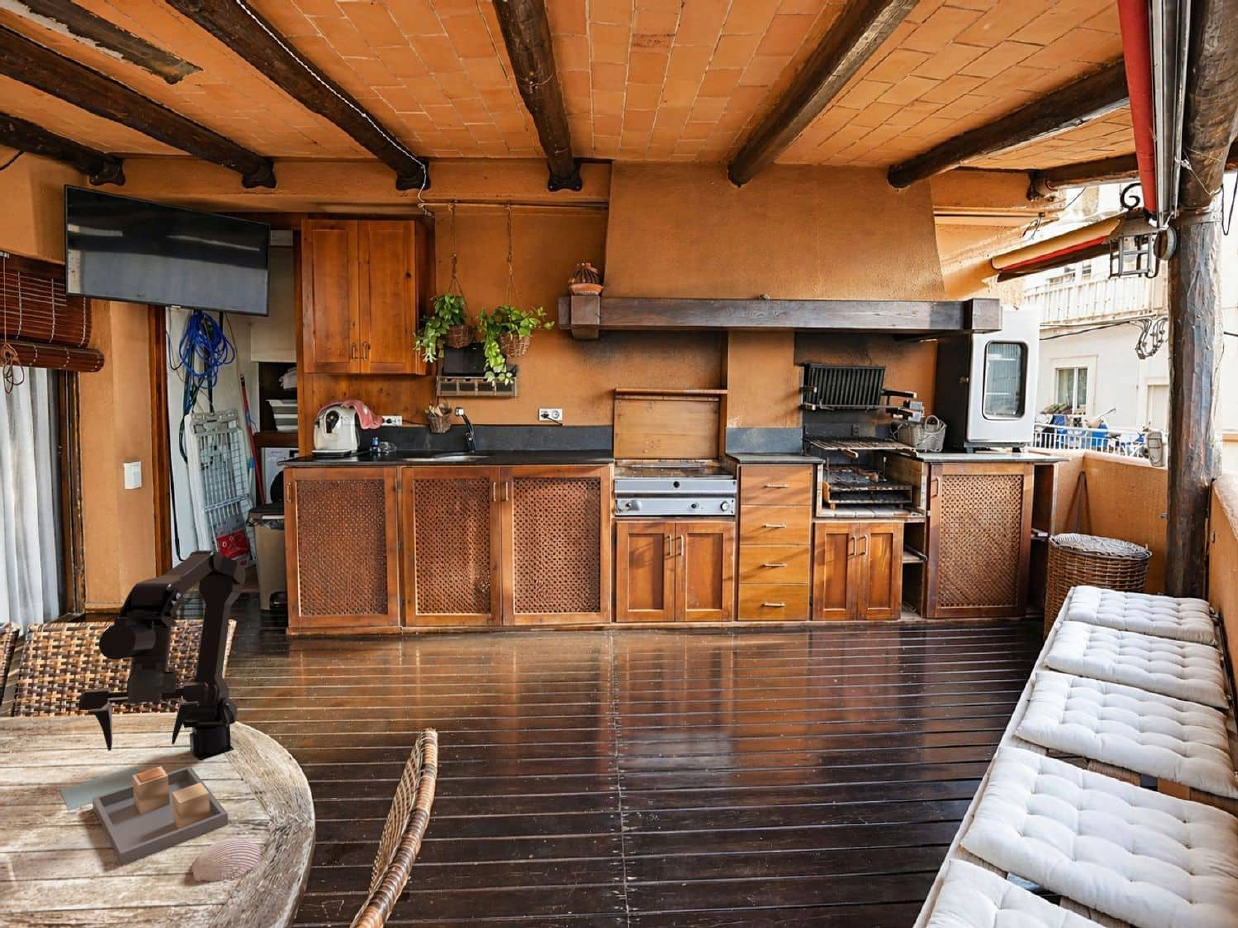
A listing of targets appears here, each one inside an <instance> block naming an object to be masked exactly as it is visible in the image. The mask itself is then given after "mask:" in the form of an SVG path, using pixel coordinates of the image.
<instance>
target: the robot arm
mask: <svg viewBox="0 0 1238 928" xmlns="http://www.w3.org/2000/svg"><path fill="white" fill-rule="evenodd" d="M246 574H247V573H246V569H245V568H244V566H242V565H241V564H240V563H239V561H237V560H235V559H233V558H231V557H227V556H224V555H223V554H222V552H220V551H217V550H213V549H212V550H210V549H208V550H203V549H202V550H195V551H192V552H190V554H189V556H188V557H187V558H186V559H184V560H183V561H182V562H180V563H179V564H177V565H176V566H174V567H173V568H172V569H170V570H169V571H167V572H166V573H165V574H163V575H160V576H158V577H151V578H148V579H145V580H142V581H140V582H137V583H136V584H135V585H133V587H132V588H131V590H130V592H129V593H128V595H127V597H126V599H125V600H124V602H123V605H122V606H121V607H120V610H119V612H118V614H117V616H116V617H114V620H113V625H111V626H109V627H107V629H105V630H104V632H103V633H102V634H101V636H100V638H99V640H98V647H99V650H100V653H101V655H103V657H105V658H107V659H109V660H112V661H118V660H124V659H125V660H126V659H130V663H129V674H128V677H127V681H126V691H125V690H123V691H112V690H111V689H112V687H102V688H99V687H98V688H88V689H87V688H86V690H85V691H83V693H81V694H80V695H79V696H80V697H79V701H78V703H79V704H78V711H87V710H88V711H87V715H89V716H90V715H91V716H92V715H93V716H95V718H96V719H97V721H98V724H99V725H100V727H101V730H102V734H103V736H104V741H105V745H106V748H107V751H108V752H111V751H112V749H113V748H112V746H113V715H112V714H113V712H112V705H111V704H119V703H128V704H131V705H138V704H139V703H149V702H150V703H151V704H153V703H159V702H161V701H162V700H172V699H174V700H175V699H180V700H179V705H178V708H177V712H176V713H177V714H176V716H175V722H174V726H173V730H172V736H171V745H175V743H176V740H177V738H178V736H179V734H180V731H181V729H182V727H183V729H188V728H189V729H190V728H191V729H192V732H190V733H189V748H190V750H189V751H190V753H191V754H192V756H193V757H195V758H197V759H198V760H199V761H204V760H207V759H209V758H213V757H216V756H219V755H222V754H225V753H228V752H233V750H235V748H234V747H233V746H232V742H231V725H233V724H235V723H236V721H237V717H238V706H237V705H236V704H235V703H234V702H233V701H232V700H231V699H230V688H229V686H228V684H227V682H226V680H225V679H224V677H223V675H224V673H223V672H224V665H225V659H226V650H227V649H226V648H227V642H228V634H229V625H230V616H231V611H232V610H231V609H232V605H234V602H235V601H236V600H237V599H238V598H239V596H240V595H241V593H242V591H243V586H244V583H245V582H246V577H247V576H246ZM197 584H198V593H199V595H200V597H201V599H202V601H203V602H204V612H203V618H202V619H203V620H202V627H201V635H200V642H199V650H198V657H197V664H196V672H195V677H194V678H193V679H192V680H191V682H184V683H183V685H182V687H176V686H177V675H178V670H169V660H170V650H171V637H172V628H173V627H176V626H177V623H178V622H177V621H176V619H174V618H173V616H174V614H175V613H176V612H178V610H179V608H180V607H181V606H182V605H183V603H184V602H185V597H184V595H185V594H186V593H187V592H188V591H189V590H190V589H192V588H193V587H195V585H197Z"/></svg>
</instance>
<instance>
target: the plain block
mask: <svg viewBox="0 0 1238 928" xmlns="http://www.w3.org/2000/svg"><path fill="white" fill-rule="evenodd" d="M172 803H173V819H174V824H175V825H176V827H177V828H178V829H180V828H183V827H186V826H188V825H191V824H194V823H196V822H199V821H202V820H204V819H207V818H210V805H209V792H208V791H207V790H206V789H205V787H204V786H203V785H202V783H198V784H195V785H192V786H189V787H186V788H183V789H180V790H178V791H175V792H172Z"/></svg>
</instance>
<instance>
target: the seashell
mask: <svg viewBox="0 0 1238 928" xmlns="http://www.w3.org/2000/svg"><path fill="white" fill-rule="evenodd" d="M261 854H262V852H261V849H260V847H259V846H258V845H257V844H256V843H254V842H252V841H249V840H247V839H241V838H228V839H222V840H220V841H217V842H215V843H212V844H211V845H208V846H207V847H206V848H205V849H203V850H202V851H201V852H200V853H199V854H198V855H197V857H196V858H195V860H194V861H193V863H192V865H191V867H190V868H191V870H190V872H192V874H193V878H194V881H195V882H201V881H210V882H211V881H212V882H213V881H215V882H216V881H224V882H222V883H223V884H226V883H228V880H229V881H231V882H232V881H233V882H234V881H235V879H238V880H239V879H240V878H242V877H243V878H244V876H246V875H248V873H252V871H255V868H254V867H255V866H257V863H259V860H261V857H262V855H261ZM225 880H226V881H225Z"/></svg>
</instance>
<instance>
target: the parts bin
mask: <svg viewBox="0 0 1238 928" xmlns="http://www.w3.org/2000/svg"><path fill="white" fill-rule="evenodd" d="M166 774H167V775H168V784H169V800H170V805H167V806H164V807H161V808H158V809H155V810H153V811H150V812H147V813H144V814H140V813H139V811H138V809H137V807H136V806H135V804H134V790H133V785H130V786H127V787H124V788H121V789H118V790H115V791H111V792H108V793H105V794H102V795H99V796H96V797H93V798H92V799H93V803H92V810H93V811H94V814H95V815H96V817H97V819H98V821H99V823H100V825H101V828H102V829H103V831H104V833H105V836H106V838H107V840H108V841H109V843H110V846H111V848H112V850H113V852H114V854H115V855H116V858H117V860H118V862H119V864H120V865H121V866H122V867H123V866H124V865H125V866H126V865H128V864H129V863H132V862H135V861H137V860H140V859H143V858H145V857H148V856H150V855H154V854H155V853H159V852H161V851H163V850H166V849H168V848H171V847H173V846H174V847H175V846H176V845H179V844H181V843H184V842H186V841H190V840H191V839H194V838H196V837H200V836H201V835H204V834H207V833H210V832H212V831H214V830H217V829H220V828H223V827H226V826H228V825H229V813H228V811H226V809H225V808H224V807H223V805H222V804H221V803H220V801H219V800H218V799H217V798H216V796H215V795H214V794H213V793H212V791H211V790H210V789H209V788H208V787H207V785H206V784H205V782H204V781H203V780H202V779H201V778H200V776H199V775H198V774H197V773H196V771H195V770H194V769H193V767H192V766H191V765H190V766H189V765H188V766H186V767H182V768H180V769H176V770H173V771H170V772H168V773H167V772H166ZM198 783H202V785H203V786H204V787H205V789H206V790H207V791H208V792H209V805H210V818H207V819H204V820H202V821H199V822H196V823H194V824H191V825H188V826H186V827H183V828H180V829H178V828H177V827H176V825H175V824H174V819H173V803H172V792H175V791H178V790H180V789H183V788H186V787H189V786H192V785H195V784H198Z"/></svg>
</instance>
